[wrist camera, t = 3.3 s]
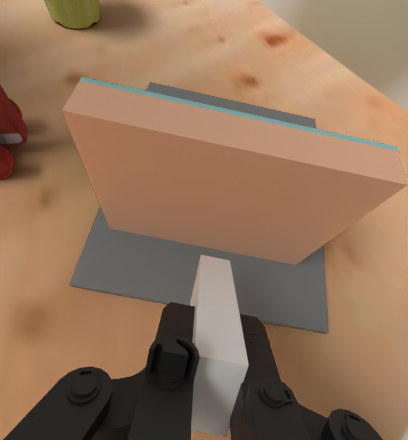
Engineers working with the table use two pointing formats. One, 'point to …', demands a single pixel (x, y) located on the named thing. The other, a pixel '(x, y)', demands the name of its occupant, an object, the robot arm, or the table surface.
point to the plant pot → (74, 12)
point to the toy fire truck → (9, 132)
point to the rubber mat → (190, 255)
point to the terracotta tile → (224, 173)
